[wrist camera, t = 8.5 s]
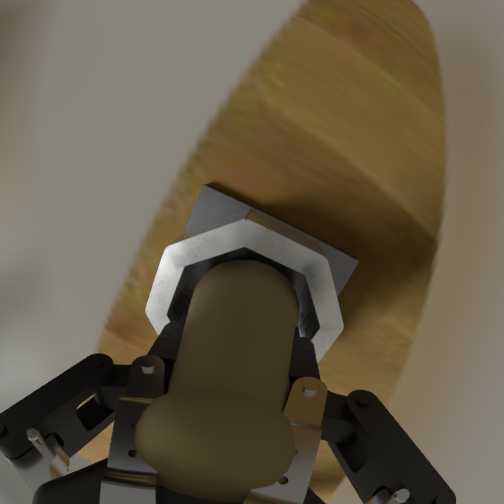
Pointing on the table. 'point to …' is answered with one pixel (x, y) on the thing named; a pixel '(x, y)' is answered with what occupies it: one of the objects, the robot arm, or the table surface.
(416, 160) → the table surface
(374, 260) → the table surface
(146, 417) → the cork
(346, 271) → the duct collar
